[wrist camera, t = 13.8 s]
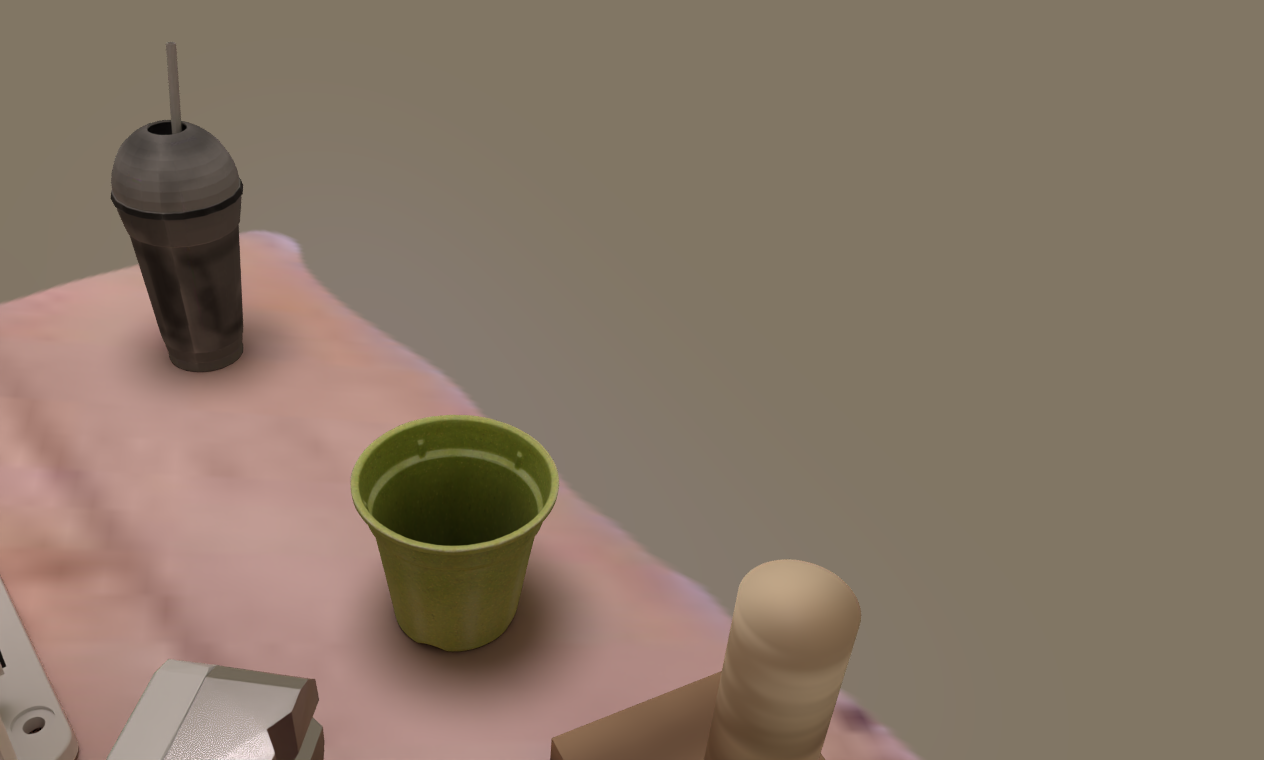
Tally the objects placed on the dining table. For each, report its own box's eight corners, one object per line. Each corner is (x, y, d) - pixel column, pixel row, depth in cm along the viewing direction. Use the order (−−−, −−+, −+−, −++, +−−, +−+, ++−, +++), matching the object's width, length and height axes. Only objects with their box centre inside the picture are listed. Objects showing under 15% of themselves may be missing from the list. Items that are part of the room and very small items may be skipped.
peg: (665, 850, 45) (714, 580, 35) (745, 813, 46) (812, 546, 37) (715, 938, 42) (783, 669, 33) (799, 895, 44) (886, 628, 34)
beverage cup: (120, 357, 69) (48, 48, 57) (210, 309, 74) (160, 17, 62) (202, 398, 66) (143, 83, 54) (289, 345, 71) (252, 47, 60)
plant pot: (500, 519, 60) (502, 394, 55) (584, 637, 54) (595, 507, 48) (335, 576, 55) (321, 446, 50) (406, 711, 49) (398, 577, 44)
